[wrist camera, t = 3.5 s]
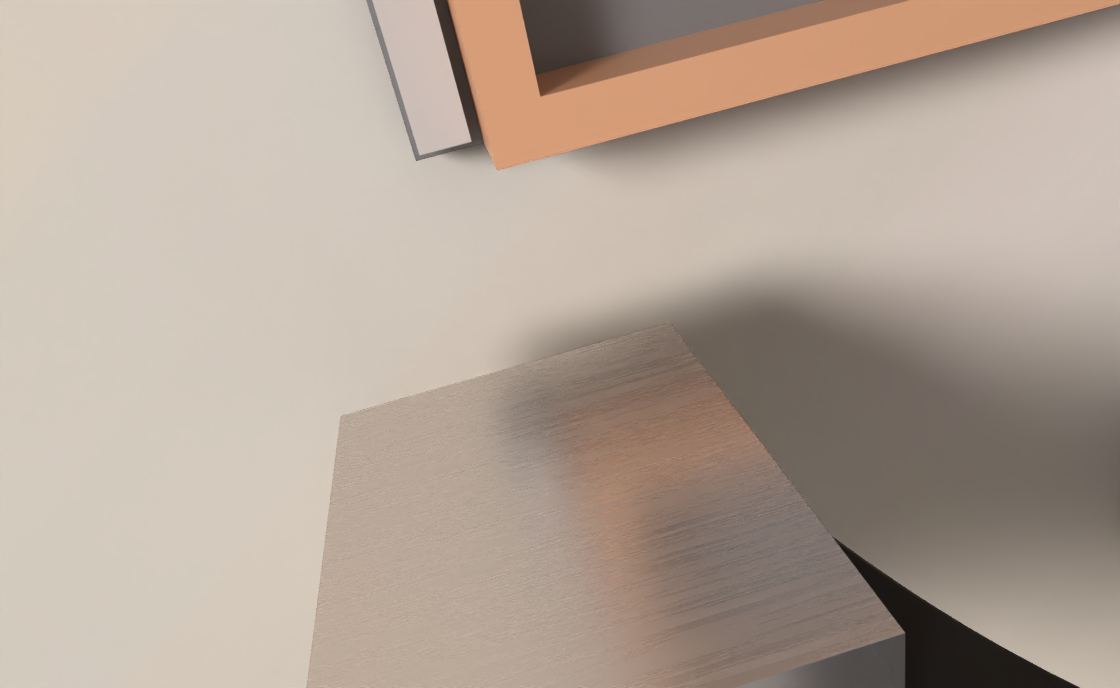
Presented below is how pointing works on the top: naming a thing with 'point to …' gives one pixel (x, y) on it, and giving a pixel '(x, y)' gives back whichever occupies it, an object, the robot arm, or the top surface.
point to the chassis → (647, 60)
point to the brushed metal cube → (584, 540)
